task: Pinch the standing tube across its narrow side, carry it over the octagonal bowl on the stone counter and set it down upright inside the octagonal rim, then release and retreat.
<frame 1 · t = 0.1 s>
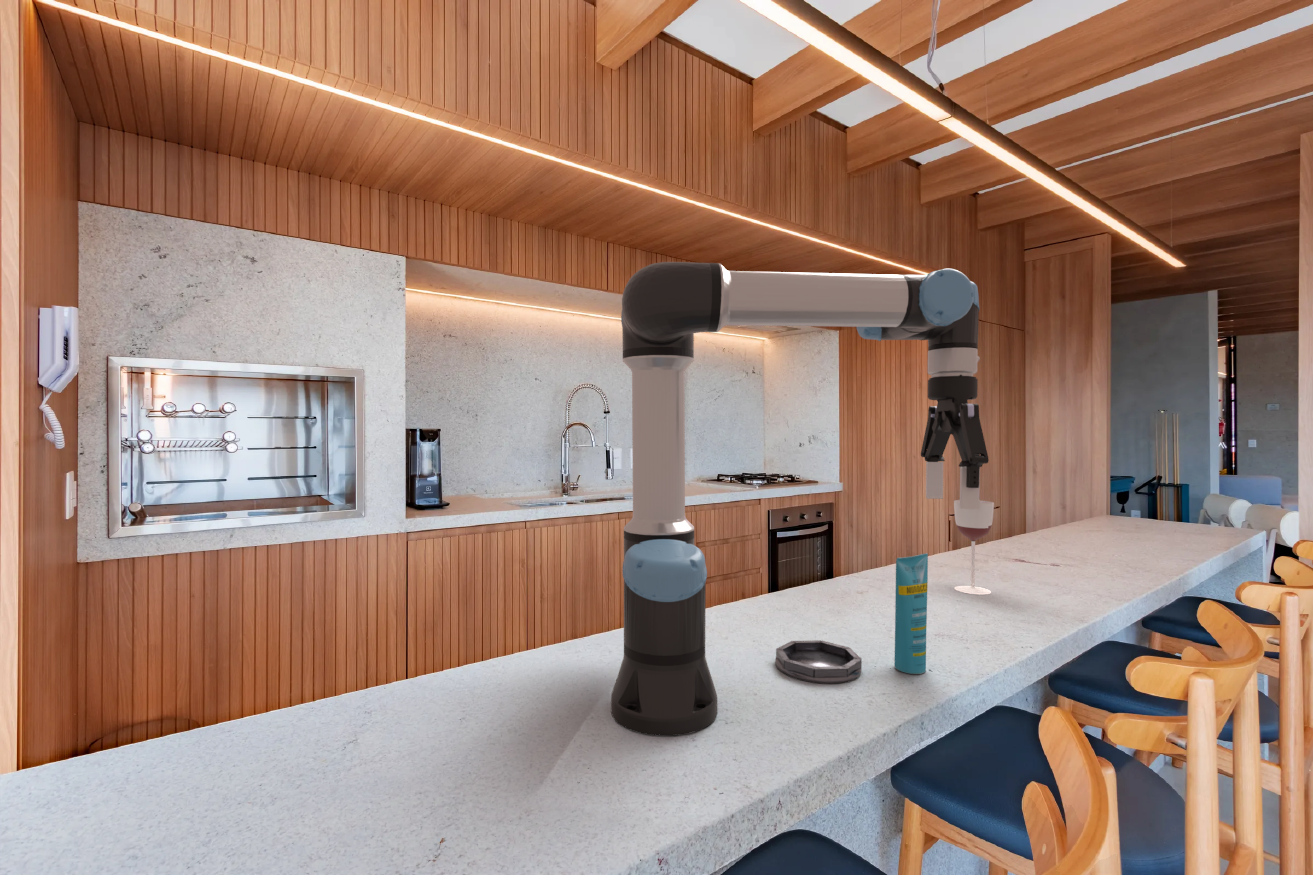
hand: (950, 503, 104), 28 cm above the countertop, fingers open, 13 cm apart
tube: (911, 670, 104), on the countertop
wineglass: (972, 590, 155), on the countertop
octagonal bowl: (817, 666, 105), on the countertop
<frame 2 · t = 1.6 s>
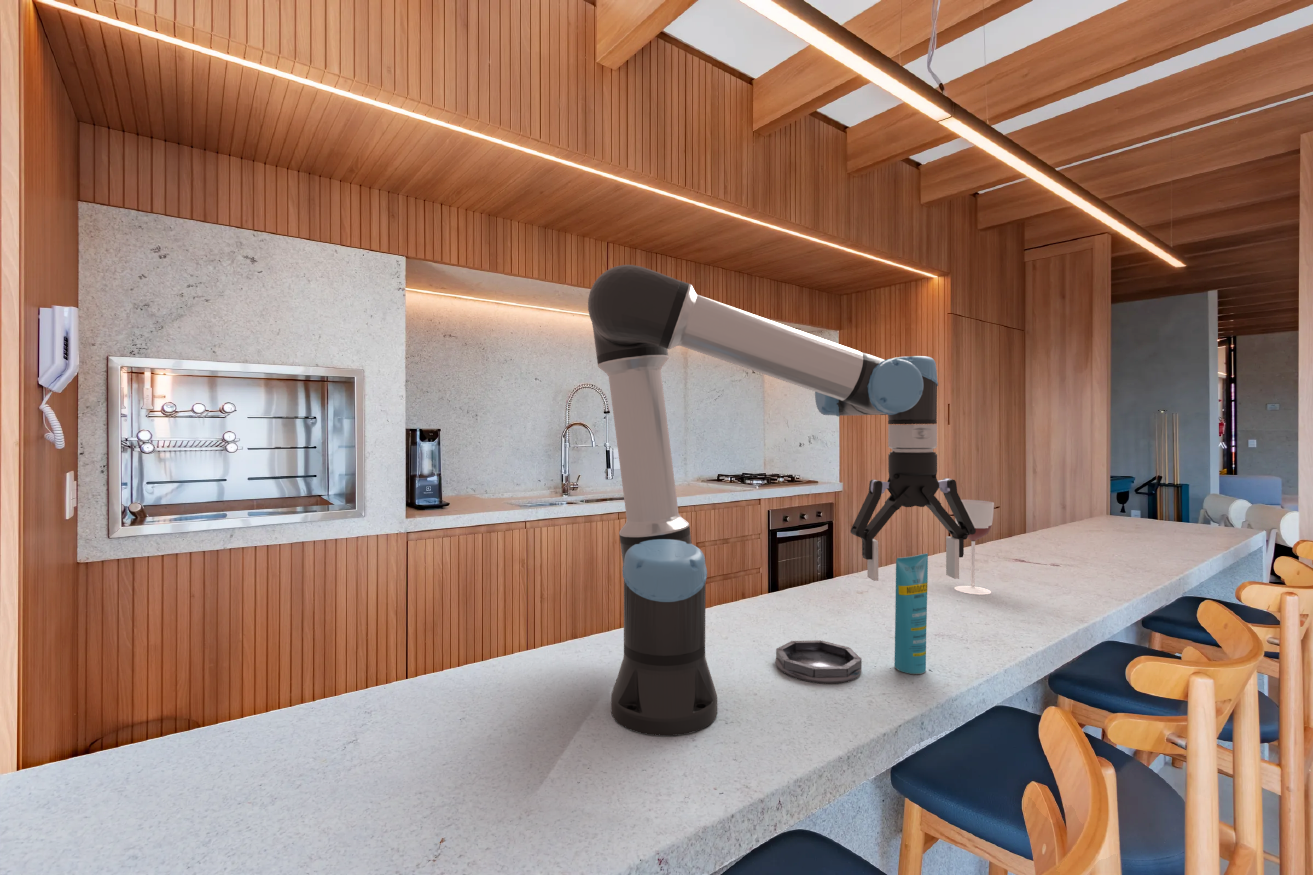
hand: (912, 578, 104), 15 cm above the countertop, fingers open, 13 cm apart
nothing on the countertop moved.
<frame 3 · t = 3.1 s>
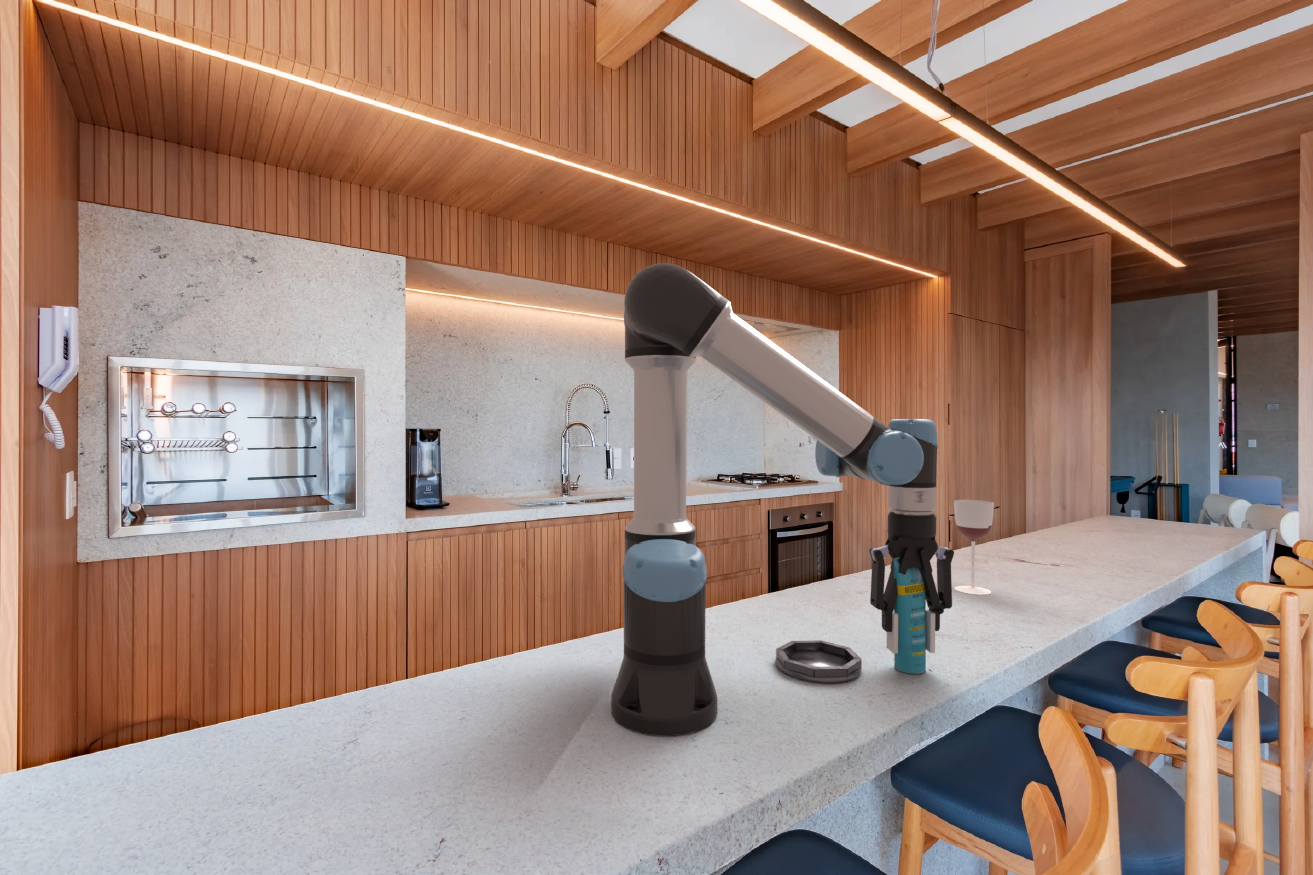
hand: (910, 649, 104), 3 cm above the countertop, fingers closed on tube, 5 cm apart
tube: (911, 670, 104), on the countertop, touching gripper
everything else where it was.
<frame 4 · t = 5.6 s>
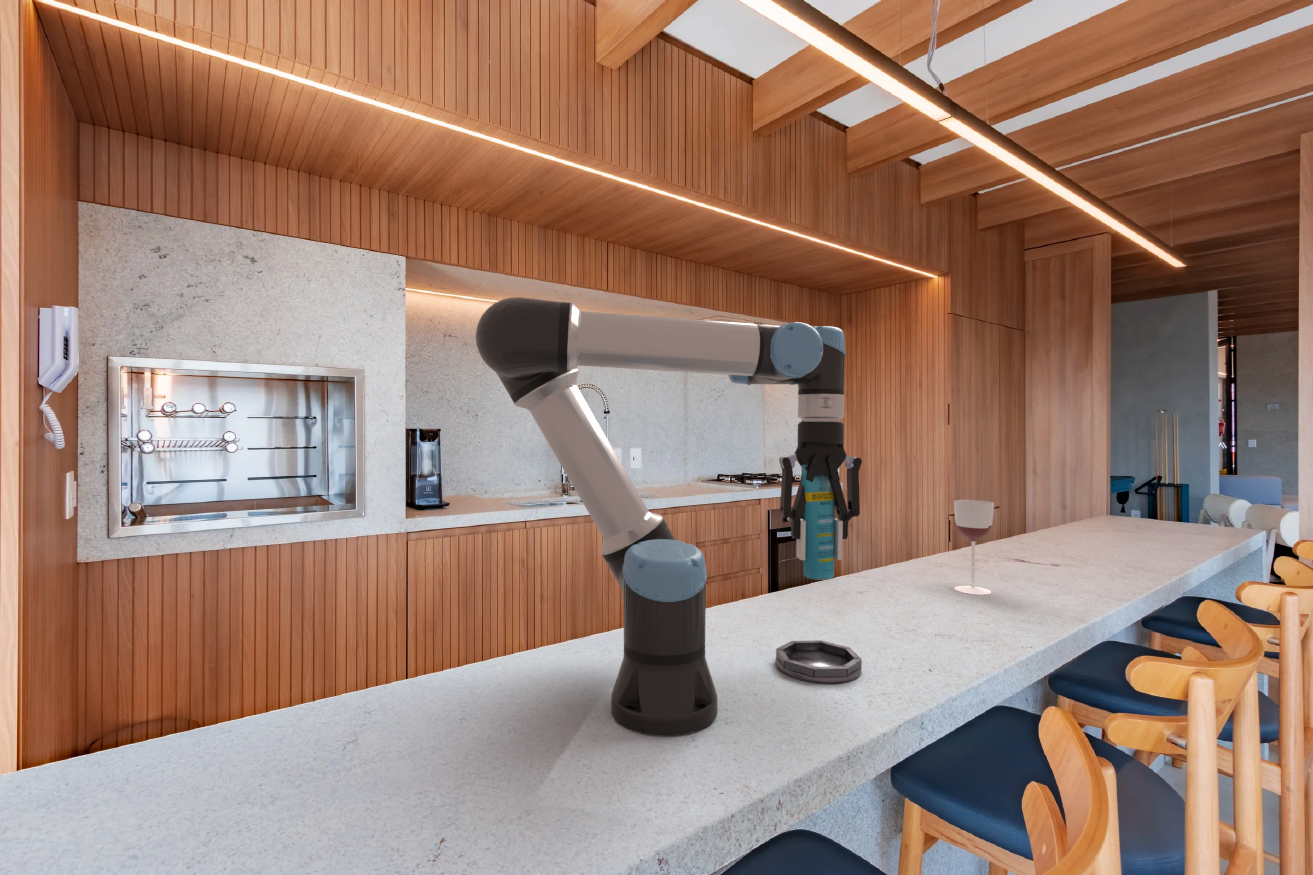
hand: (819, 557, 105), 18 cm above the countertop, fingers closed on tube, 5 cm apart
tube: (819, 578, 105), point 15 cm above the countertop, touching gripper
everything else where it was.
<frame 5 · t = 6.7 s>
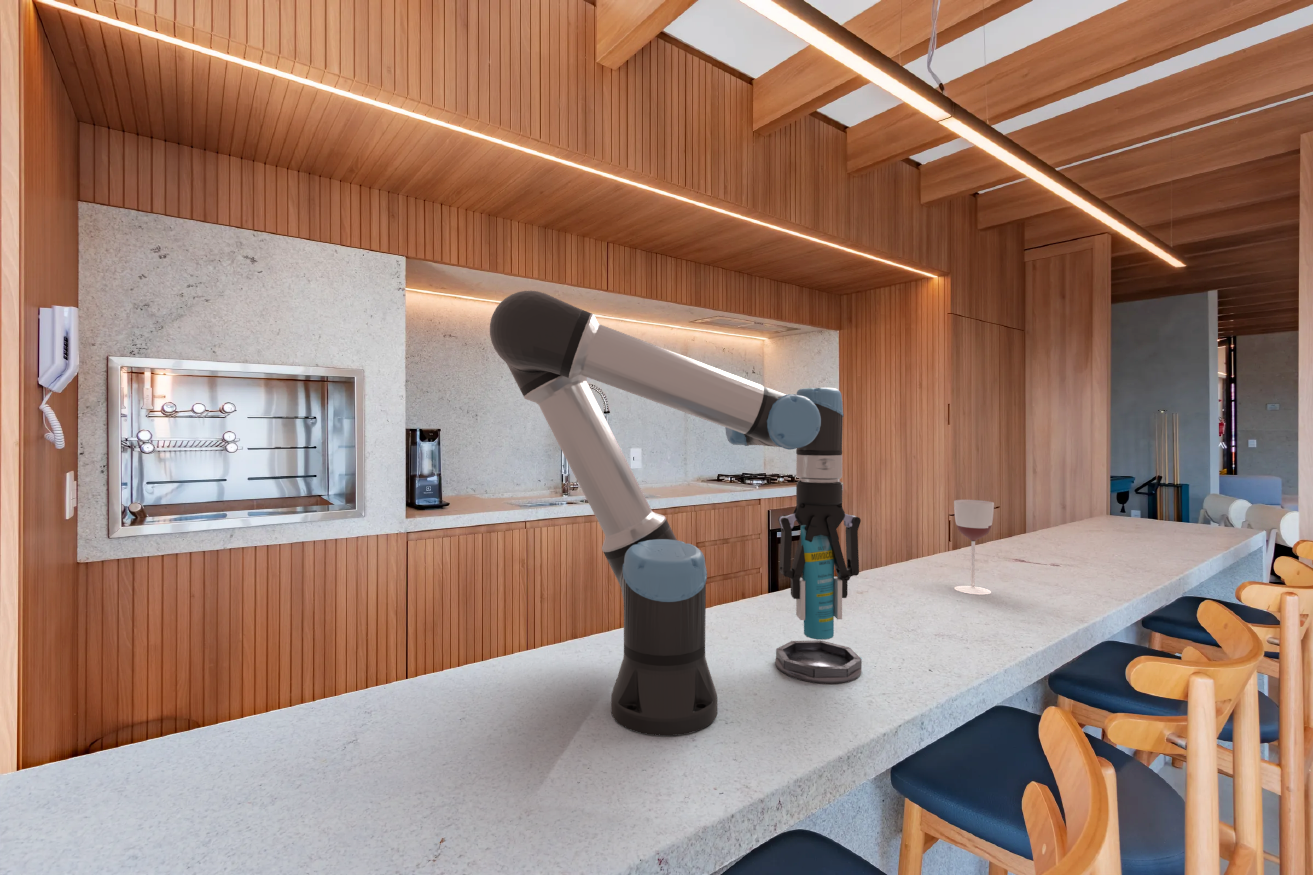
hand: (818, 616, 105), 8 cm above the countertop, fingers closed on tube, 5 cm apart
tube: (819, 636, 105), point 5 cm above the countertop, touching gripper
everything else where it was.
when the fingers open (5 cm above the countertop, at t = 7.7 s): tube stays where it is, resting on octagonal bowl.
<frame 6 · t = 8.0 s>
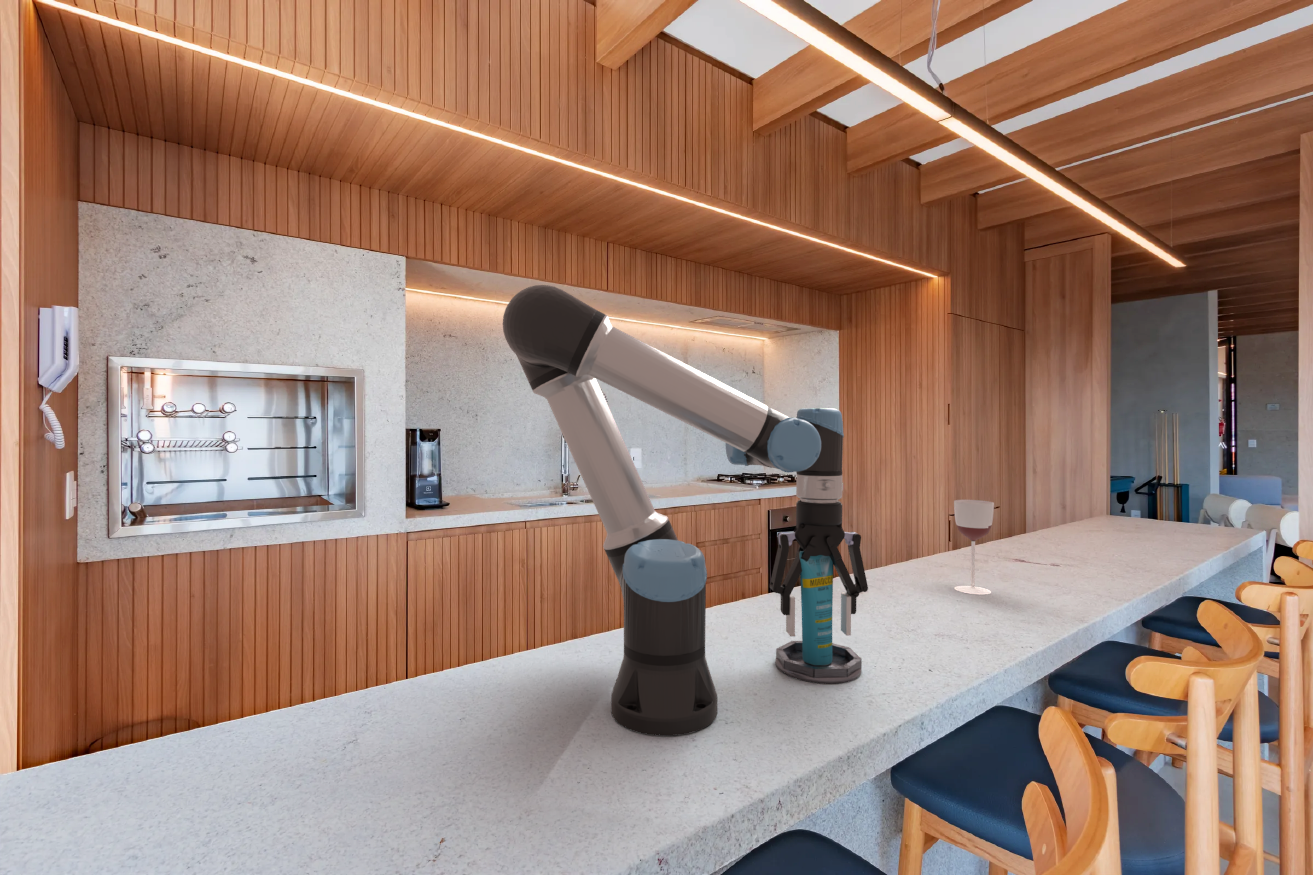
hand: (818, 633, 105), 6 cm above the countertop, fingers open, 9 cm apart
tube: (818, 662, 105), point 1 cm above the countertop, touching octagonal bowl
everything else where it was.
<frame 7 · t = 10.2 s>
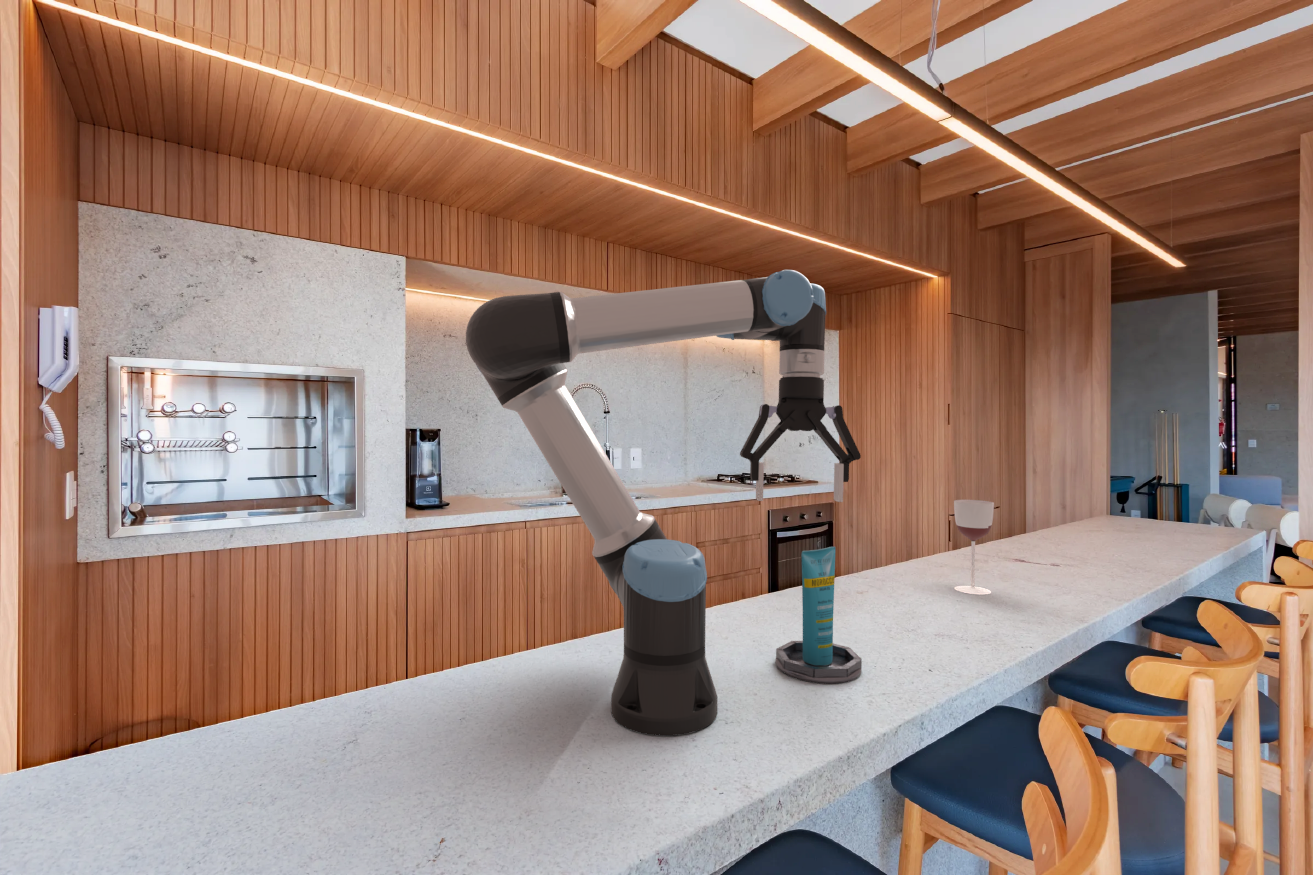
hand: (798, 500, 107), 28 cm above the countertop, fingers open, 13 cm apart
nothing on the countertop moved.
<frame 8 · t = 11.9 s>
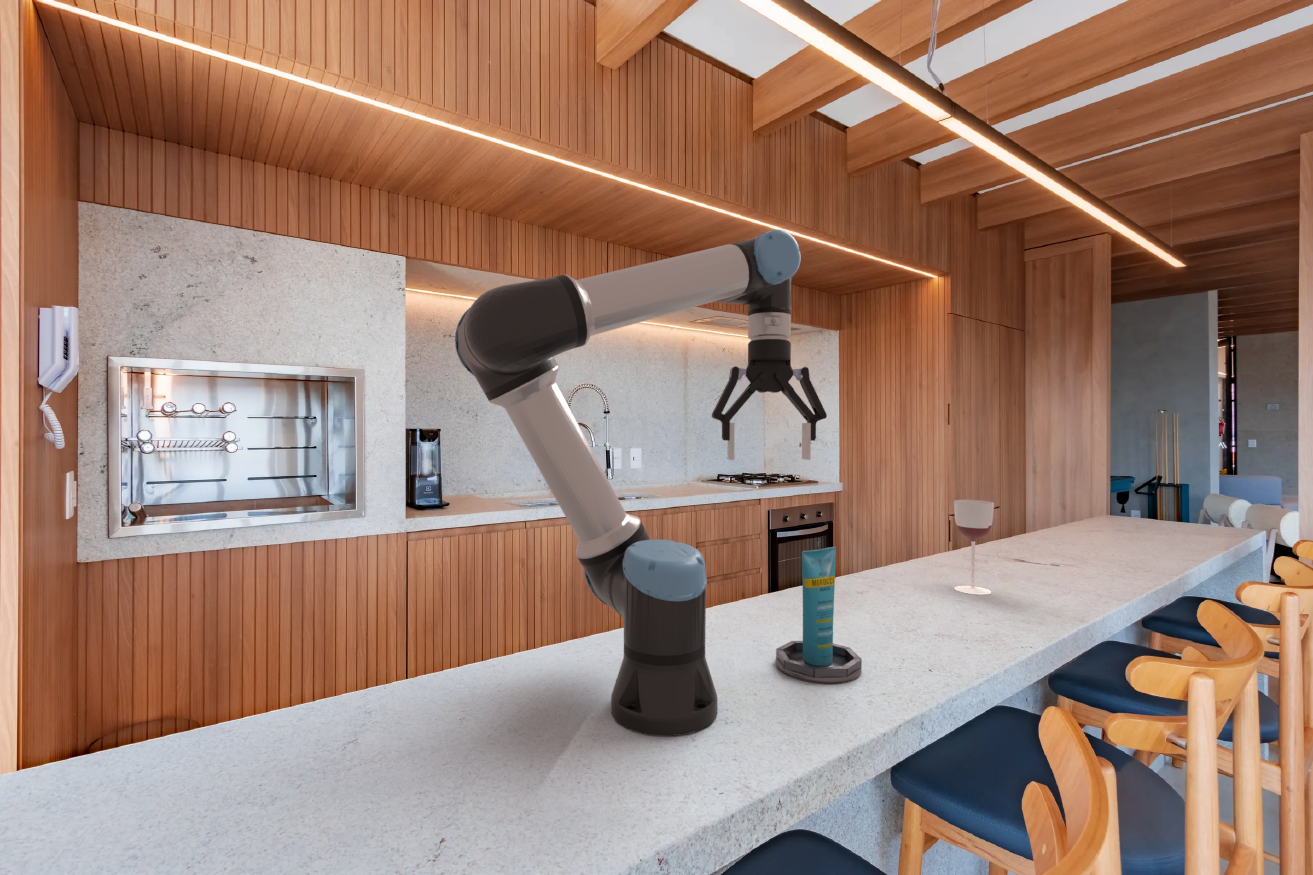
hand: (768, 459, 111), 35 cm above the countertop, fingers open, 13 cm apart
nothing on the countertop moved.
at the end: tube inside the target area on the octagonal bowl (0.4 cm from its centre), point 0.6 cm above the octagonal bowl's base; tube tilted 0°; the gripper is holding nothing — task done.
